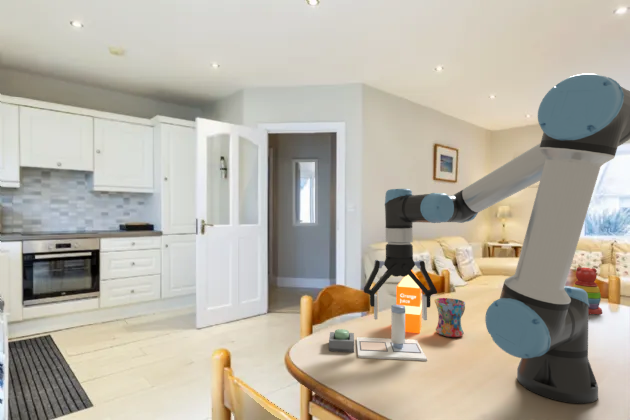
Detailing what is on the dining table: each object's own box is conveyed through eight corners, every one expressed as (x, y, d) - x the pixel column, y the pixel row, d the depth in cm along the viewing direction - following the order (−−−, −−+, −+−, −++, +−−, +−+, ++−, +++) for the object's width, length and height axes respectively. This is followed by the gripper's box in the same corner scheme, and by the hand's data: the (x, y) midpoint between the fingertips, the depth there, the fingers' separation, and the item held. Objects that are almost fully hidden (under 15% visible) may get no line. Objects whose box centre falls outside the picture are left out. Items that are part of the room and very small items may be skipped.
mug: (452, 341, 109) (452, 306, 109) (428, 332, 117) (428, 299, 117) (476, 334, 115) (476, 301, 115) (452, 326, 123) (452, 295, 123)
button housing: (354, 352, 99) (354, 341, 99) (328, 351, 100) (329, 340, 100) (353, 343, 106) (353, 333, 106) (330, 342, 107) (330, 332, 107)
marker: (406, 349, 100) (406, 308, 100) (392, 349, 100) (392, 308, 100) (403, 344, 104) (403, 304, 104) (390, 344, 104) (390, 304, 104)
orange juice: (395, 330, 118) (396, 270, 118) (398, 322, 126) (399, 266, 127) (420, 333, 116) (420, 271, 116) (422, 325, 124) (422, 267, 124)
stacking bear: (601, 310, 146) (601, 267, 146) (604, 316, 137) (604, 270, 137) (568, 306, 151) (568, 264, 152) (570, 312, 143) (570, 267, 143)
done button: (348, 341, 101) (348, 334, 101) (334, 340, 101) (334, 333, 101) (348, 336, 105) (348, 329, 105) (335, 335, 105) (335, 328, 105)
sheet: (426, 360, 94) (426, 358, 94) (358, 357, 96) (358, 354, 96) (416, 341, 108) (416, 339, 108) (356, 339, 110) (356, 336, 110)
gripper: (440, 242, 105) (441, 315, 104) (354, 242, 107) (355, 314, 106) (447, 244, 97) (449, 323, 96) (355, 244, 99) (356, 321, 99)
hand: (399, 318), depth 101 cm, fingers open, 13 cm apart
